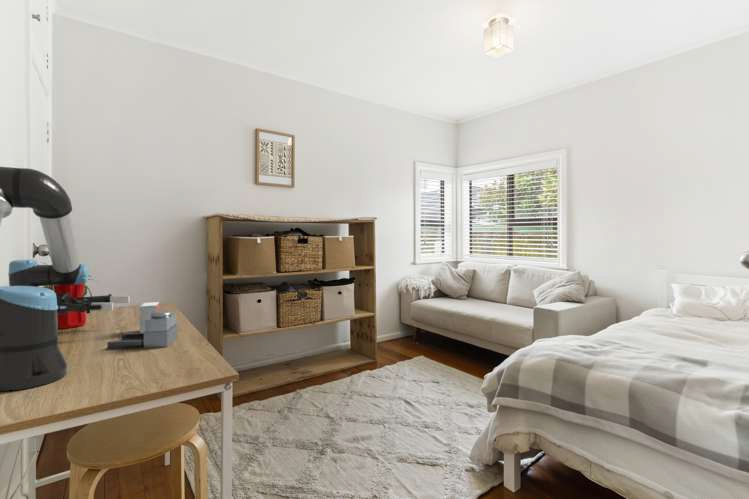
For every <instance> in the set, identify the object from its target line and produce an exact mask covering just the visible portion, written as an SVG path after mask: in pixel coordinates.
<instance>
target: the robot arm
mask: <svg viewBox="0 0 749 499" xmlns="http://www.w3.org/2000/svg"><path fill="white" fill-rule="evenodd" d="M14 208H17V209H19V208H21V209H22V208H23V209H27V208H29V209H32V213H34V215H35V216H37V217H38V218H39V221H40V224H41V228H42V232H43V235H44V239H45V243H46V246H47V250H48V253H49V257H50V261H51V264H38V261H37V260H36V259H16V260H12V261H10V262H9V264H8V274H7V275H8V285H3V286H0V392H10V391H9V390H13V391H19V390H24V389H25V390H26V389H31V388H36V387H39V386H45V385H47V384H50V383H53V382H55V381H58V380H60V379H62V378H64V377H65V376H66V375H67V374H68V364H67V362H66V359H65V357H64V356H63V353H62V351H61V349H60V346H59V341H58V340H59V338H58V336H59V331H58V329H59V328H58V319H57V314H68V313H69V312H70V311H73V312H82V313H84V312H86V314H91V312H100V311H101V312H102V311H104V312H106V311H107V312H109V311H111V312H112V311H114V304H130V299H131V298H130V295H112V293H108V295H107V294H106V295H97V296H96V295H95V296H94V295H93V296H82V297H76V299H75V298H74V299H73V298H72V296H71V295H70V294H69V293H57V294H56V293H55V290H52V289H50V288H47V287H50V286H51V287H52V286H53V287H54V286H56V285H78V284H85V285H86V284H87V283H88V281H89V276H90V274H89V273H90V272H89V266H88V265H87V264H85V263H84V264H83V263H80V259H79V254H78V249H77V245H76V240H75V235H74V231H73V224H72V221H71V216H70V214H71V213H72V212H73V206H72V201H71V199H70V196H69V195H68V193H67V191H66V190H65V189H64V188H63V187H62V186H61V184H60V183H58V182H57V181H56V180H55V179H54V178H52V176H49V175H47V174H46V173H45V172H42V171H40V170H37V169H33V168H28V167H27V168H26V167H25V168H24V167H23V168H22V167H20V168H19V167H10V166H9V167H7V166H0V226H1V225H2V221H3V219H5V218H7V217H9V216H11V214H12V211H13V209H14Z"/></svg>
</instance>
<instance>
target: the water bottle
mask: <svg viewBox="0 0 749 499" xmlns="http://www.w3.org/2000/svg"><path fill="white" fill-rule="evenodd" d="M85 286H86V283H85V284H78V285H56V286H53V289H54V290H53V291H54V292H55V293H56V294H57V293H69V294H70V295H71V296H72V298H73V299H74V298H75V299H76V297H83V294H84V290H85ZM57 319H58V329H63V330H64V329H70V328H71V329H72V328H76V327H77V328H78V327H82V326H84V325H85V324H87V313H86V311H85V312H84V313H82V312H73V311H70V312H69V313H68V314H57Z"/></svg>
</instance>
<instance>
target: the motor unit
mask: <svg viewBox="0 0 749 499" xmlns="http://www.w3.org/2000/svg"><path fill="white" fill-rule="evenodd" d="M178 326H179V325H178V323H177V312H172V311H170V310H160V311H158V312H153V313H151V317H149V318H147V319H146V320H145V332H144V333H140V332H131V333H130V332H128V333H126V332H125V333H121V337H120V338H118V339H117V340H115V341H108V342H107V343H106V344H107V347H106V348H107V350H122V349H123V350H125V349H142V348H144V349H147V348H150V349H151V348H168V347H169V346H170V345H171V344H172V343H174V342H175V341H176V340H177V339H179V332H178V329H179V327H178ZM175 339H176V340H175Z"/></svg>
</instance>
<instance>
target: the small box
mask: <svg viewBox="0 0 749 499" xmlns="http://www.w3.org/2000/svg"><path fill="white" fill-rule="evenodd" d="M158 311H161V303H160V301H154V302H143V303H142V304H141V305H139V333H144V332H145V320H146V319H147V318H149V317H151V313H153V312H158Z"/></svg>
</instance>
